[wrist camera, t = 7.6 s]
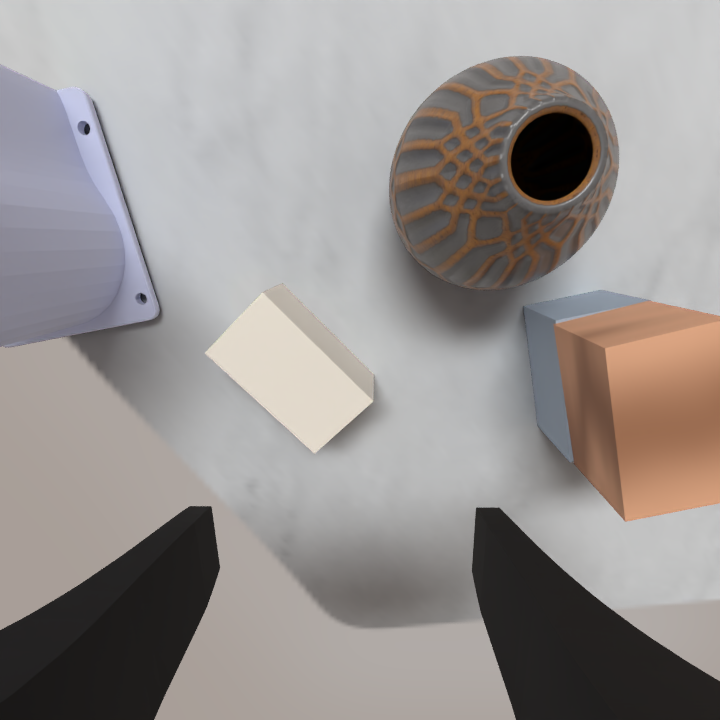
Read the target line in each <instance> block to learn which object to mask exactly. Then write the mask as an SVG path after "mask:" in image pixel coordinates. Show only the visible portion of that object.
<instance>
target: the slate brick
mask: <svg viewBox="0 0 720 720" xmlns="http://www.w3.org/2000/svg"><path fill="white" fill-rule="evenodd" d="M645 301H651V300H646V299H641V298H637V297H632V296H627V295H623V294H618V293H613V292H609V291H604V290H598V291H593V292H588V293H584V294H579V295H574V296H570V297H565V298H560V299H555V300H551V301H546V302H541V303H536V304H532V305H527V306H523V307H524V316H525V324H526V333H527V341H528V349H529V358H530V366H531V375H532V383H533V391H534V400H535V408H536V417H537V425H538V427H539V428H540V429H541V430H542V431H543V432H544V434H545V435H546V436H547V437H548V438H549V439H550V440H551V442H552V443H553V444H554V445H555V446H556V447H557V448H558V450H559V451H560V452H561V453H562V454H563V455H564V456H565V457H566V459H567V460H568V461H569V462H574V459H573V452H572V446H571V439H570V432H569V426H568V419H567V412H566V406H565V399H564V392H563V386H562V379H561V372H560V366H559V359H558V352H557V346H556V339H555V332H554V326H553V324H556V323H560V322H564V321H568V320H572V319H576V318H581V317H585V316H589V315H593V314H597V313H601V312H605V311H609V310H613V309H617V308H621V307H625V306H629V305H633V304H637V303H641V302H645Z"/></svg>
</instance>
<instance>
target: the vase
mask: <svg viewBox="0 0 720 720" xmlns="http://www.w3.org/2000/svg"><path fill="white" fill-rule="evenodd" d="M618 168H619V147H618V139H617V133H616V129H615V125H614V122H613V119H612V116H611V114H610V112H609V110H608V108H607V106H606V104H605V102H604V100H603V99H602V98H601V96H600V95H599V93H598V92H597V91H596V90H595V88H594V87H593V86H592V85H591V84H590V83H589V82H588V81H587V80H586V79H584V78H583V77H582V76H581V75H579V74H578V73H576V72H575V71H573V70H572V69H570V68H568V67H566V66H564V65H562V64H559V63H557V62H554V61H551V60H548V59H543V58H538V57H531V56H515V57H504V58H498V59H494V60H490V61H487V62H484V63H480V64H477V65H475V66H473V67H470V68H468V69H466V70H464V71H462V72H460V73H459V74H457V75H455V76H454V77H452V78H450V79H449V80H448V81H446V82H445V83H443V84H442V85H441V86H440V87H438V88H437V89H436V90H435V91H434V92H433V93H432V94H431V95H430V96H429V97H428V98H427V99H426V100H425V101H424V102H423V103H422V104H421V106H420V107H419V108H418V109H417V111H416V112H415V113H414V115H413V116H412V118H411V119H410V121H409V122H408V124H407V126H406V128H405V130H404V131H403V134H402V136H401V138H400V140H399V143H398V145H397V148H396V151H395V154H394V158H393V161H392V166H391V172H390V182H389V197H390V206H391V213H392V217H393V221H394V224H395V227H396V229H397V232H398V234H399V236H400V238H401V240H402V242H403V244H404V245H405V247H406V248H407V250H408V251H409V253H410V254H411V255H412V256H413V257H414V259H415V260H416V261H417V262H418V263H419V264H420V265H421V266H423V267H424V268H425V269H426V270H427V271H429V272H430V273H432V274H433V275H435V276H436V277H438V278H440V279H442V280H444V281H446V282H448V283H451V284H454V285H457V286H460V287H464V288H468V289H475V290H499V289H507V288H512V287H516V286H520V285H523V284H526V283H529V282H531V281H534V280H536V279H538V278H540V277H542V276H544V275H546V274H548V273H550V272H551V271H553V270H555V269H556V268H558V267H559V266H561V265H562V264H563V263H565V262H566V261H567V260H568V259H570V258H571V257H572V256H573V255H574V254H575V253H576V252H577V251H578V250H579V249H580V248H581V247H582V246H583V245H584V244H585V243H586V242H587V241H588V239H589V238H590V237H591V236H592V234H593V233H594V231H595V230H596V229H597V227H598V225H599V224H600V222H601V220H602V219H603V217H604V215H605V213H606V211H607V209H608V206H609V204H610V202H611V199H612V196H613V193H614V189H615V186H616V181H617V176H618Z"/></svg>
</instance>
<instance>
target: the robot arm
mask: <svg viewBox="0 0 720 720" xmlns="http://www.w3.org/2000/svg"><path fill="white" fill-rule="evenodd" d="M86 124H89V126H90V133H89V134H88V135H86V134H85V132H84V127H85V125H86ZM141 293H143V294H144V295H145V296H146V297H147V302H146V303H144V302H142V301H141V299H140V295H141ZM159 312H160V309H159V305H158V301H157V298H156V295H155V292H154V289H153V286H152V283H151V280H150V277H149V274H148V271H147V268H146V265H145V262H144V258H143V255H142V252H141V249H140V246H139V243H138V240H137V237H136V234H135V231H134V228H133V225H132V222H131V219H130V216H129V212H128V209H127V206H126V203H125V200H124V197H123V194H122V191H121V188H120V185H119V182H118V179H117V176H116V173H115V169H114V166H113V163H112V160H111V157H110V154H109V151H108V148H107V145H106V142H105V139H104V136H103V133H102V130H101V126H100V123H99V120H98V117H97V114H96V111H95V108H94V105H93V102H92V99H91V98H90V96H89V95H88V94H87V93H86V92H85V91H83V90H81V89H79V88H77V87H68V88H64V89H60V90H54V89H52V88H50V87H48V86H46V85H44V84H41V83H39V82H37V81H35V80H33V79H31V78H29V77H27V76H24V75H22V74H20V73H18V72H16V71H14V70H12V69H10V68H7V67H5V66H3V65H1V64H0V347H2V346H3V347H14V346H20V345H24V344H30V343H35V342H40V341H45V340H50V339H55V338H61V337H66V336H71V335H76V334H81V333H87V332H92V331H97V330H102V329H107V328H112V327H117V326H123V325H128V324H133V323H138V322H143V321H148V320H151V319H154V318H156V317H157V316H158V315H159ZM219 569H220V565H219V557H218V551H217V543H216V537H215V529H214V522H213V514H212V508H211V506H207V507H205V506H203V507H202V506H200V507H199V506H190V507H188V508H187V509H185V510H184V511H182V512H181V513H179V514H178V515H177V516H175V517H174V518H172V519H171V520H170V521H169V522H167V523H166V524H164V525H163V526H162V527H160V528H159V529H158V530H156V531H155V532H154V533H152V534H151V535H150V536H148V537H147V538H145V539H144V540H143V541H141V542H140V543H139V544H137V545H136V546H135V547H133V548H132V549H130V550H129V551H128V552H126V553H125V554H124V555H122V556H121V557H119V558H118V559H116V560H115V561H113V562H112V563H111V564H109V565H108V566H106V567H105V568H103V569H102V570H100V571H99V572H97V573H96V574H94V575H93V576H92V577H90V578H89V579H87V580H86V581H84V582H83V583H81V584H80V585H78V586H77V587H75V588H73V589H72V590H70V591H68V592H67V593H65V594H64V595H62V596H60V597H59V598H57V599H55V600H54V601H52V602H50V603H49V604H47V605H45V606H44V607H42V608H40V609H39V610H37V611H35V612H33V613H32V614H30V615H28V616H26V617H24V618H23V619H21V620H19V621H17V622H15V623H13V624H11V625H9V626H7V627H6V628H4V629H2V630H0V720H154V719H155V716H156V714H157V712H158V709H159V707H160V705H161V703H162V700H163V698H164V696H165V694H166V691H167V689H168V687H169V685H170V683H171V681H172V679H173V677H174V675H175V673H176V671H177V669H178V667H179V664H180V663H181V660H182V658H183V656H184V654H185V651H186V650H187V648H188V646H189V644H190V642H191V640H192V637H193V635H194V633H195V631H196V629H197V627H198V625H199V623H200V620H201V618H202V616H203V614H204V612H205V610H206V607H207V605H208V602H209V599H210V596H211V594H212V591H213V588H214V585H215V582H216V579H217V576H218V572H219ZM472 573H473V578H474V583H475V588H476V593H477V597H478V602H479V606H480V610H481V614H482V617H483V620H484V623H485V626H486V629H487V632H488V635H489V638H490V641H491V644H492V647H493V650H494V653H495V656H496V659H497V662H498V665H499V668H500V671H501V674H502V677H503V680H504V683H505V686H506V689H507V692H508V695H509V698H510V701H511V704H512V708H513V711H514V714H515V718H516V720H720V681H718V680H717V679H715V678H713V677H712V676H710V675H708V674H706V673H705V672H703V671H702V670H700V669H698V668H697V667H695V666H693V665H692V664H690V663H689V662H687V661H685V660H684V659H682V658H680V657H679V656H677V655H676V654H674V653H673V652H672V651H670V650H668V649H667V648H665V647H663V646H662V645H661V644H659V643H658V642H656V641H654V640H653V639H652V638H650V637H649V636H647V635H646V634H644V633H643V632H642V631H640V630H639V629H637V628H636V627H634V626H633V625H632V624H630V623H629V622H628V621H626V620H625V619H624V618H622V617H621V616H620V615H618V614H617V613H615V612H614V611H613V610H611V609H610V608H609V607H607V606H606V605H605V604H603V603H602V602H601V601H600V600H598V599H597V598H596V597H595V596H593V595H592V594H591V593H590V592H588V591H587V590H586V589H585V588H584V587H583V586H581V585H580V584H579V583H578V582H577V581H575V580H574V579H573V578H572V577H571V576H570V575H568V574H567V573H566V572H565V571H564V570H563V569H562V568H561V567H559V566H558V565H557V564H556V563H555V562H554V561H553V560H552V559H551V558H550V557H549V556H548V555H546V554H545V553H544V552H543V551H542V550H541V549H540V548H539V547H538V546H537V545H536V544H535V543H534V542H533V541H532V540H531V539H530V538H529V537H528V536H527V535H526V534H525V533H524V532H523V531H522V530H521V529H520V528H519V527H518V526H517V525H516V524H515V523H514V522H513V521H512V520H511V519H510V518H509V517H508V516H507V515H506V514H505V513H504V512H503V511H502V510H501V509H500V508H476V518H475V533H474V548H473V564H472Z"/></svg>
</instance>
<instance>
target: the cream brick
mask: <svg viewBox="0 0 720 720" xmlns="http://www.w3.org/2000/svg"><path fill="white" fill-rule="evenodd" d="M205 354H206V355H207V356H208V357H210V358H211V359H212V360H213V361H214V362H215V363H216V364H217V365H218V366H219V367H220V368H222V369H223V370H224V371H225V372H226V373H227V374H228V375H229V376H230V377H231V378H232V379H234V380H235V381H236V382H237V383H238V384H239V385H240V386H241V387H242V388H243V389H244V390H246V391H247V392H248V393H249V394H250V395H251V396H252V397H253V398H254V399H255V400H256V401H258V402H259V403H260V404H261V405H262V406H263V407H264V408H265V409H266V410H267V411H268V412H270V413H271V414H272V415H273V416H274V417H275V418H276V419H277V420H278V421H279V422H280V423H282V424H283V425H284V426H285V427H286V428H287V429H288V430H289V431H290V432H291V433H292V434H294V435H295V436H296V437H297V438H298V439H299V440H300V441H301V442H302V443H303V444H304V445H306V446H307V447H308V448H309V449H310V450H311V451H312V452H313V453H314V454H315V453H316V452H317V451H318V450H319V449H320V448H321V447H323V446H324V445H325V444H326V443H327V442H328V441H329V440H330V439H332V438H333V437H334V436H335V435H336V434H337V433H338V432H339V431H341V430H342V429H343V428H344V427H345V426H346V425H347V424H348V423H350V422H351V421H352V420H353V419H354V418H355V417H356V416H357V415H359V414H360V413H361V412H362V411H363V410H364V409H365V408H366V407H368V406H369V405H370V404H371V403H372V402H373V401H374V374H373V373H372V372H371V371H370V370H369V369H368V368H367V367H366V366H365V365H364V364H363V363H362V362H361V361H360V360H359V359H358V358H357V357H356V356H355V355H354V354H353V353H352V352H351V351H350V350H349V349H348V348H347V347H346V346H345V345H344V344H343V343H342V342H341V341H340V340H339V339H338V338H337V337H336V336H335V335H334V334H333V333H332V332H331V331H330V330H329V329H328V328H327V327H326V326H325V325H324V324H323V323H322V322H321V321H320V320H319V319H318V318H317V317H316V316H315V315H314V314H313V313H312V312H311V311H310V310H309V309H308V308H307V307H306V306H305V305H304V304H303V303H302V302H301V301H300V300H299V299H298V298H297V297H296V296H295V295H294V294H293V293H292V292H291V291H290V290H289V289H288V288H287V287H286V286H285V285H284V284H283V283H282V284H280V285H277V286H275V287H273V288H271V289H269V290H266V291H264V292H262V293H261V294H260V295H259V296H258V297H257V298H256V299H255V300H254V302H253V303H252V304H251V305H250V306H249V307H248V308H247V309H246V310H245V311H244V312H243V313H242V314H241V315H240V316H239V317H238V318H237V319H236V321H235V322H234V323H233V324H232V325H231V326H230V327H229V328H228V329H227V330H226V331H225V332H224V333H223V334H222V335H221V336H220V337H219V338H218V339H217V341H216V342H215V343H214V344H213V345H212V346H211V347H210V348H209V349H208V350H207V351H206V352H205Z"/></svg>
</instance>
